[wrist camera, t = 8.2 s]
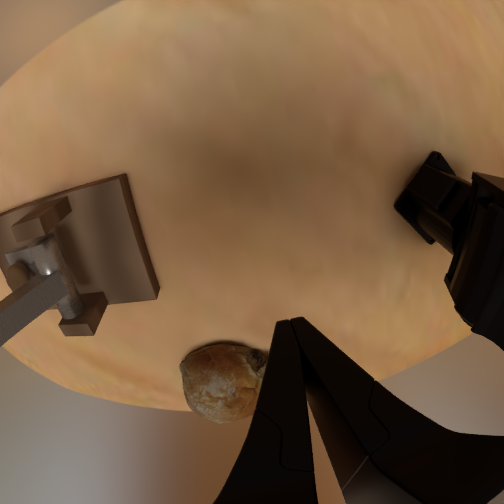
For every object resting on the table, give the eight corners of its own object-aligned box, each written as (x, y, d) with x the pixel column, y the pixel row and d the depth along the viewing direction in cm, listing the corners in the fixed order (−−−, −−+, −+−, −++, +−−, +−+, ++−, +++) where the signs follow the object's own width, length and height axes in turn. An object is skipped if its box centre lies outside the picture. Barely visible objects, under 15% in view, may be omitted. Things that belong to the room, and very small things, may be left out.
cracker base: (126, 173, 18) (95, 198, 13) (159, 288, 23) (147, 334, 18) (-9, 217, 18) (-43, 244, 13) (29, 302, 23) (6, 337, 18)
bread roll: (191, 316, 30) (150, 370, 23) (285, 338, 26) (257, 406, 20) (206, 371, 35) (177, 419, 28) (282, 392, 31) (261, 448, 25)
